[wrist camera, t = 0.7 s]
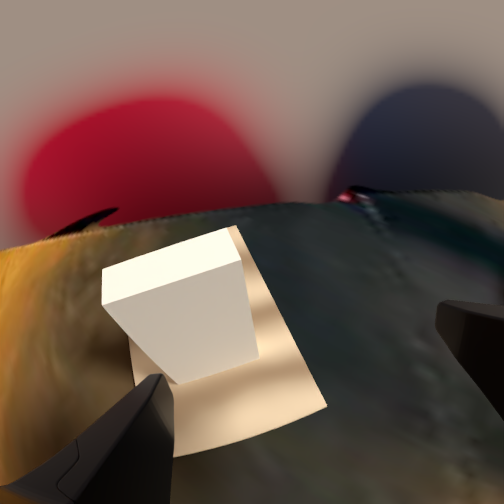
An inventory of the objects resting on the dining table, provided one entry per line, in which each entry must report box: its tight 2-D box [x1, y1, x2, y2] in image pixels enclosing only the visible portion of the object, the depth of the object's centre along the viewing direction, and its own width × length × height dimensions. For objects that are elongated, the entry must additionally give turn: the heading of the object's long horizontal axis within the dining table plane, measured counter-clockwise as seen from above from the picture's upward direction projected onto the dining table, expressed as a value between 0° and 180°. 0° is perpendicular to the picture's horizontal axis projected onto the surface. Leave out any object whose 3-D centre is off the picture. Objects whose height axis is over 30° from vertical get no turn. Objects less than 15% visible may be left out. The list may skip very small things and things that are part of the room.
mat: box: [128, 225, 327, 458], centre depth 25 cm, size 22×14×1 cm, turn 20°
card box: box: [102, 228, 260, 385], centre depth 18 cm, size 2×7×12 cm, turn 110°
